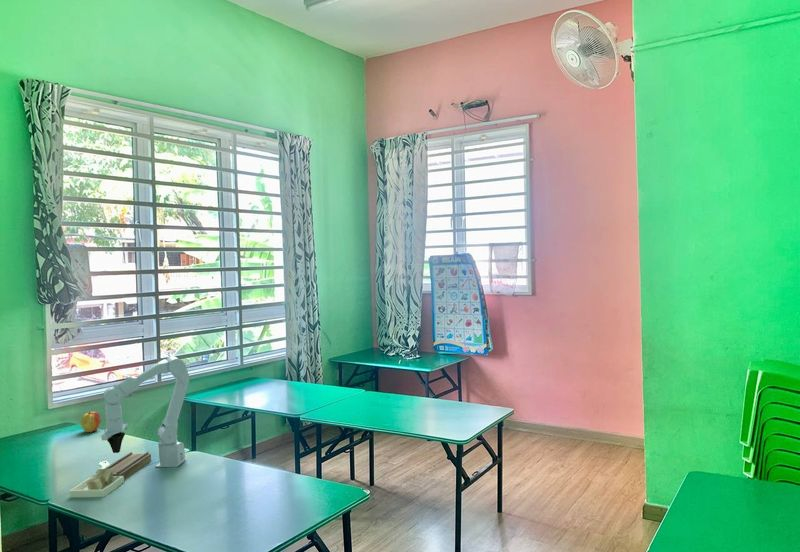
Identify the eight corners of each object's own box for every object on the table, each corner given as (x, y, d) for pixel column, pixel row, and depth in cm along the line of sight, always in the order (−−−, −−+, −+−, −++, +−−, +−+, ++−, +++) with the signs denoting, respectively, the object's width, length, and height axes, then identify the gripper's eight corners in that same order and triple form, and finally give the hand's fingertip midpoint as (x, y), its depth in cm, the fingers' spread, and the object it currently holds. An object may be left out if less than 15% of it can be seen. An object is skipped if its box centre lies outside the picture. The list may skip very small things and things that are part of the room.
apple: (101, 431, 286) (100, 412, 286) (81, 435, 282) (79, 415, 281) (101, 427, 294) (99, 408, 294) (81, 430, 290) (79, 411, 289)
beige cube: (113, 475, 219) (109, 468, 217) (108, 484, 215) (104, 477, 213) (103, 476, 219) (99, 469, 217) (98, 484, 215) (94, 477, 213)
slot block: (151, 460, 241) (150, 451, 241) (121, 481, 219) (120, 472, 219) (128, 460, 242) (128, 452, 242) (96, 482, 220) (96, 472, 220)
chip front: (102, 474, 213) (97, 481, 209) (105, 483, 214) (99, 491, 210) (92, 475, 213) (86, 482, 209) (94, 484, 214) (88, 491, 211)
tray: (124, 482, 219) (123, 475, 218) (103, 497, 206) (103, 490, 206) (92, 482, 220) (91, 476, 220) (69, 497, 207) (69, 490, 207)
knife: (96, 456, 249) (116, 453, 252) (96, 459, 249) (116, 456, 252) (79, 478, 221) (102, 475, 223) (80, 483, 221) (102, 479, 223)
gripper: (115, 413, 232) (117, 446, 233) (92, 424, 218) (95, 459, 218) (131, 412, 232) (134, 445, 232) (110, 423, 217) (113, 458, 218)
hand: (116, 452), depth 225 cm, fingers closed
